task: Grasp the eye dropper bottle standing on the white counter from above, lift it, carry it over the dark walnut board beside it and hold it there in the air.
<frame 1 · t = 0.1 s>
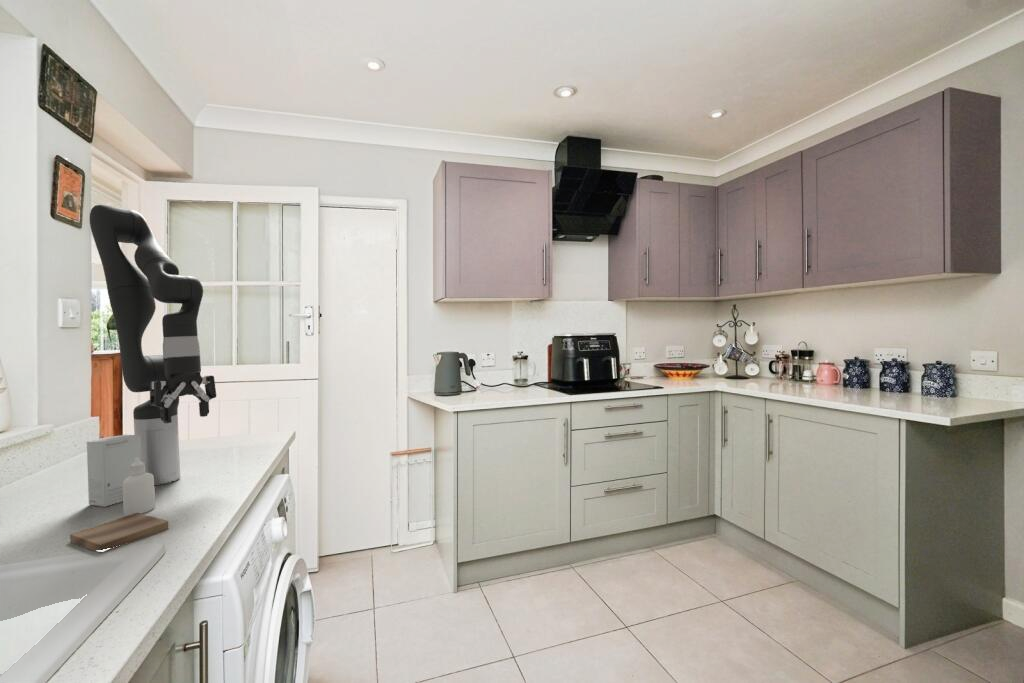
hand: (186, 419, 116), 17 cm above the countertop, tool pointing down, fingers open, 8 cm apart
eye dropper bottle: (139, 513, 101), on the countertop
walnut board: (120, 535, 90), on the countertop
skincare box: (116, 500, 109), on the countertop
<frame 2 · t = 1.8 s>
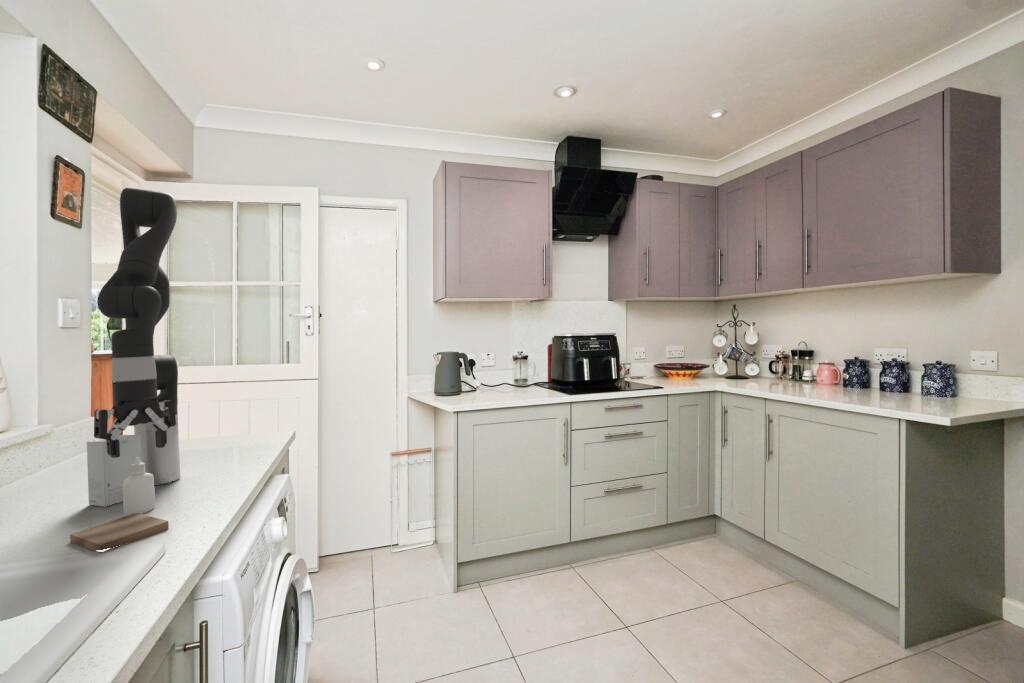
hand: (138, 452, 101), 13 cm above the countertop, tool pointing down, fingers open, 8 cm apart
nothing on the countertop moved.
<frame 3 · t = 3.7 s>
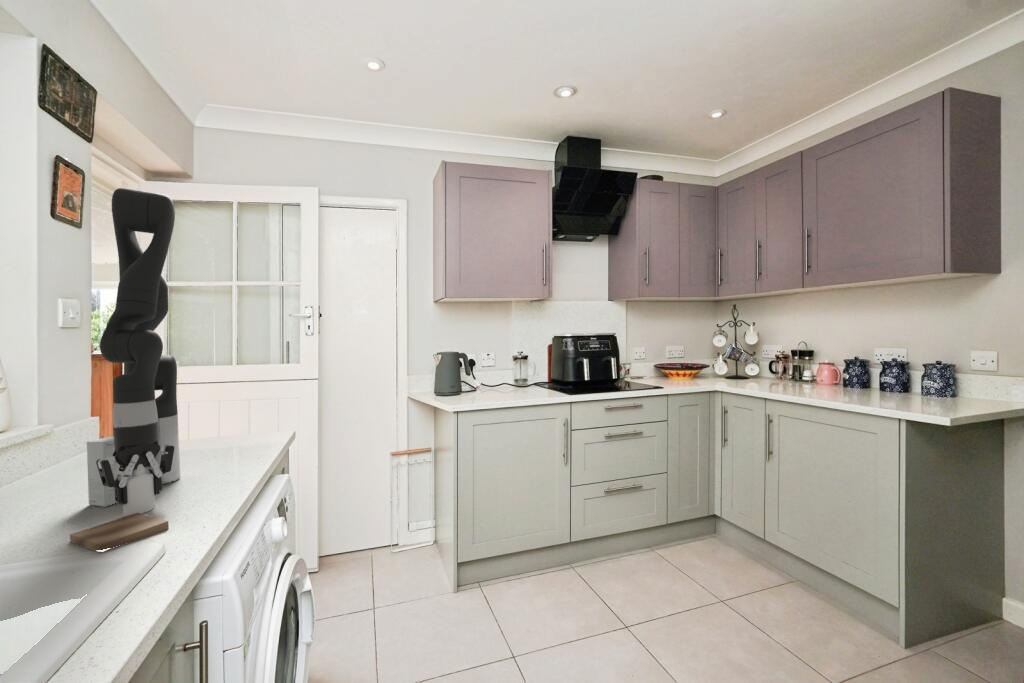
hand: (139, 498, 101), 3 cm above the countertop, tool pointing down, fingers closed on eye dropper bottle, 5 cm apart
eye dropper bottle: (139, 513, 101), on the countertop, touching gripper
everything else where it was.
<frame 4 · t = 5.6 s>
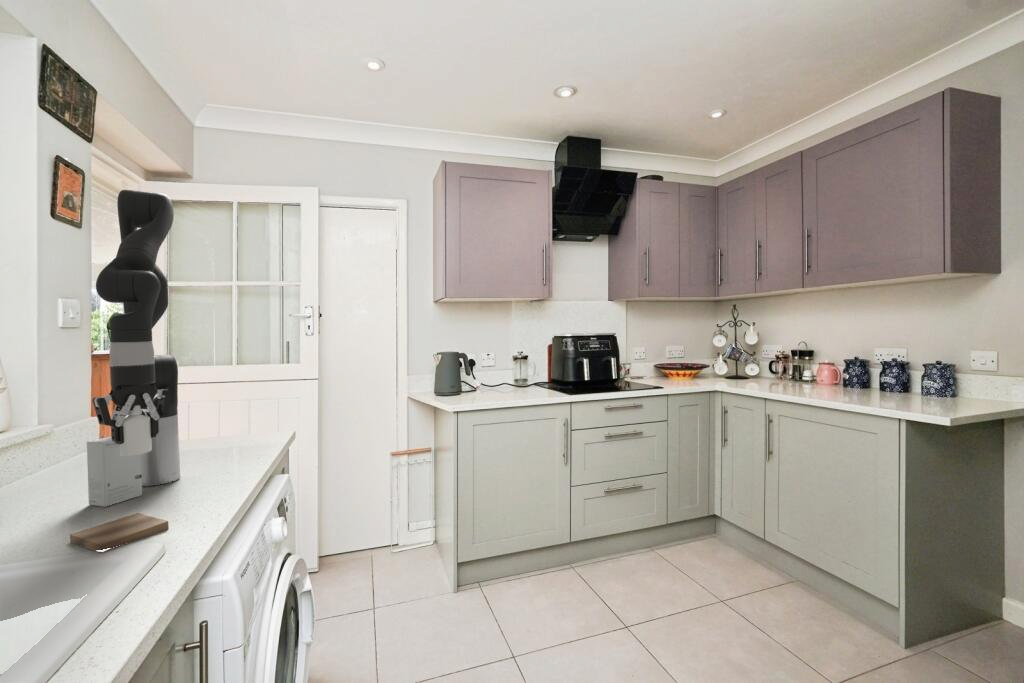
hand: (136, 439, 101), 16 cm above the countertop, tool pointing down, fingers closed on eye dropper bottle, 5 cm apart
eye dropper bottle: (136, 454, 101), point 13 cm above the countertop, touching gripper
everything else where it was.
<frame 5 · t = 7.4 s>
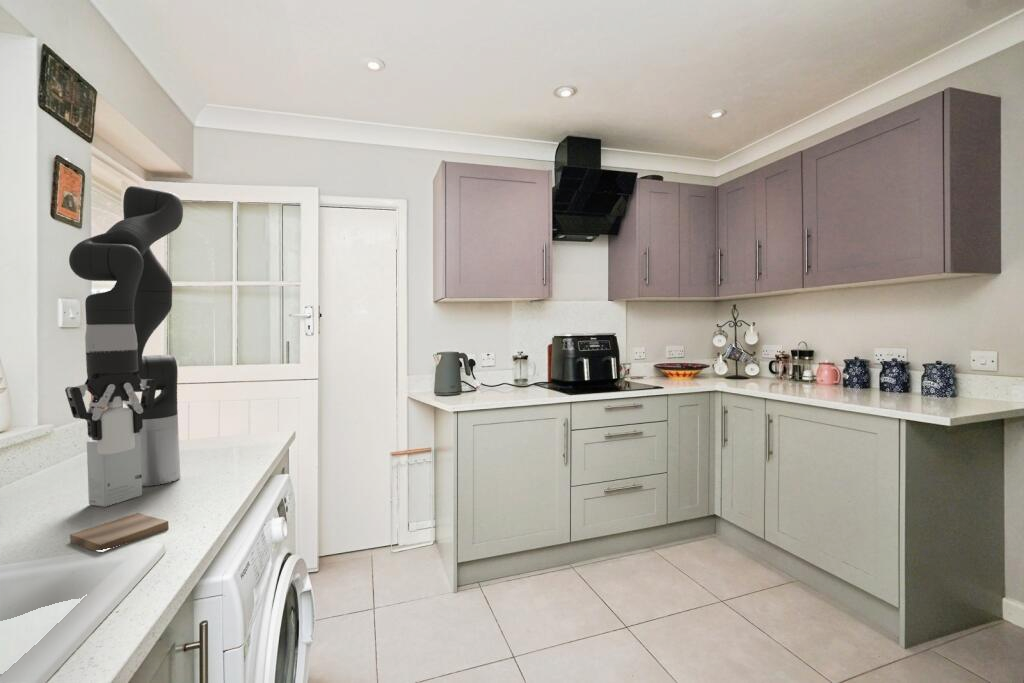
hand: (116, 435, 89), 19 cm above the countertop, tool pointing down, fingers closed on eye dropper bottle, 5 cm apart
eye dropper bottle: (116, 452, 89), point 16 cm above the countertop, touching gripper
everything else where it was.
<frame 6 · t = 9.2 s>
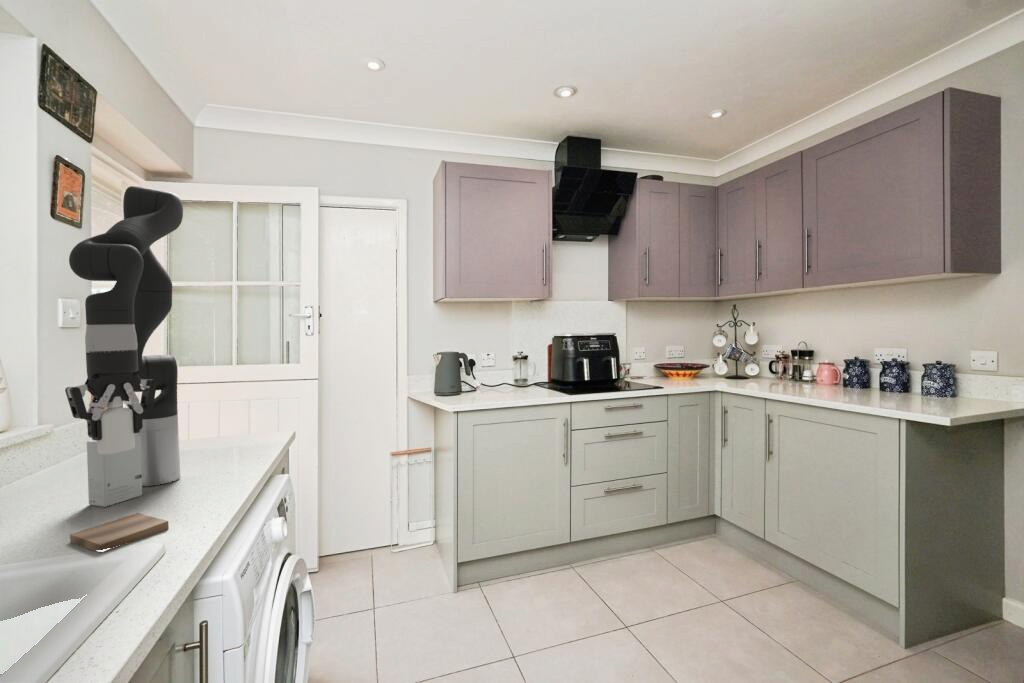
hand: (116, 435, 89), 19 cm above the countertop, tool pointing down, fingers closed on eye dropper bottle, 5 cm apart
eye dropper bottle: (116, 452, 89), point 16 cm above the countertop, touching gripper
everything else where it was.
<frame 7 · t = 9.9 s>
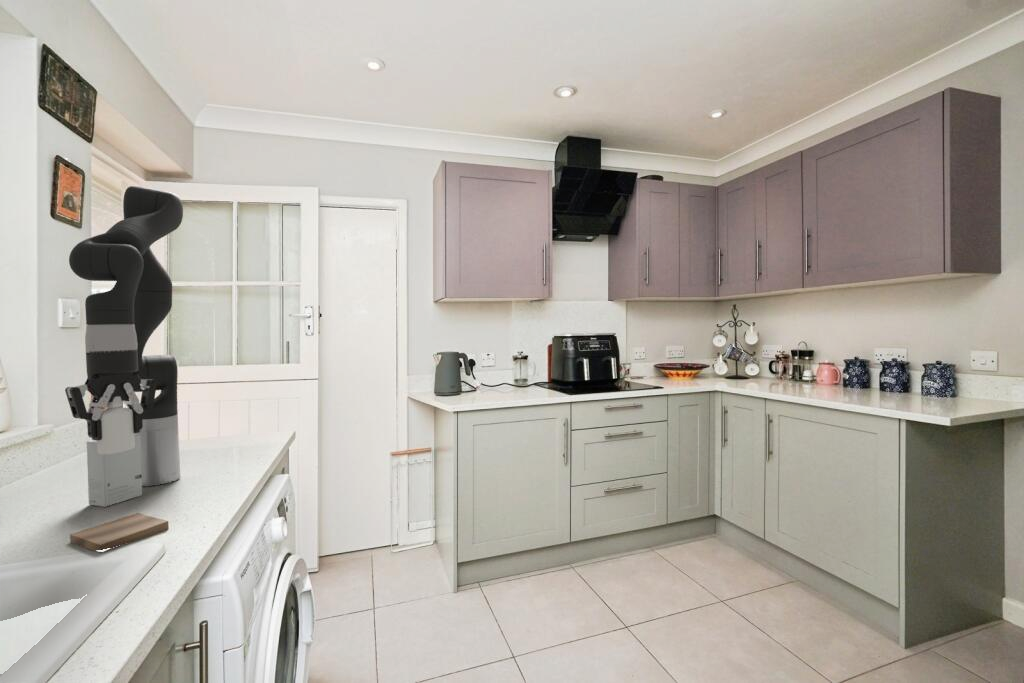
hand: (116, 435, 89), 19 cm above the countertop, tool pointing down, fingers closed on eye dropper bottle, 5 cm apart
eye dropper bottle: (116, 452, 89), point 16 cm above the countertop, touching gripper
everything else where it was.
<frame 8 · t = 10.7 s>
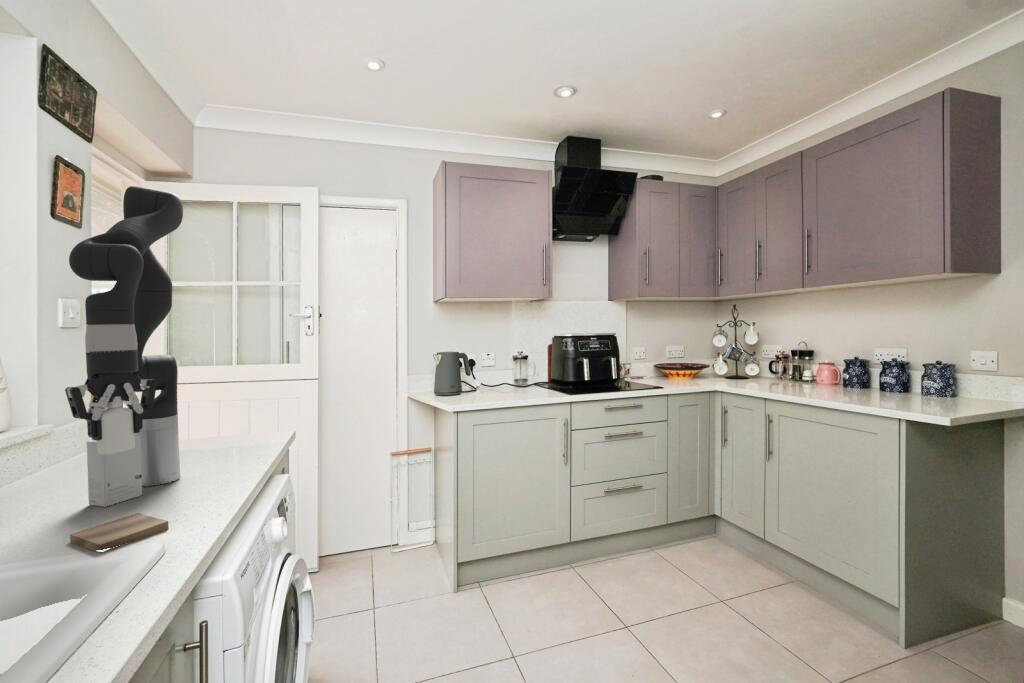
hand: (116, 435, 89), 19 cm above the countertop, tool pointing down, fingers closed on eye dropper bottle, 5 cm apart
eye dropper bottle: (116, 452, 89), point 16 cm above the countertop, touching gripper
everything else where it was.
at the end: the gripper is holding eye dropper bottle; eye dropper bottle inside the target area (0.0 cm from its centre), point 16.1 cm above the countertop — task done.
